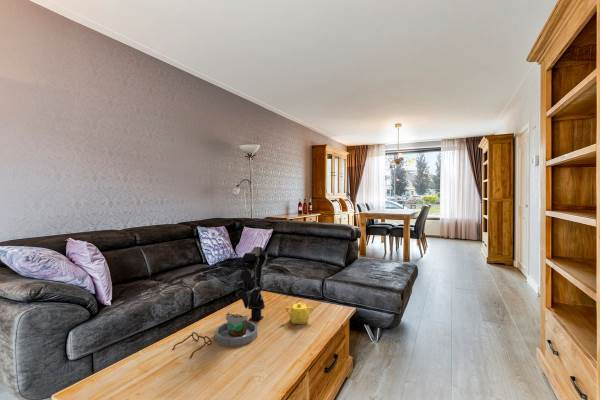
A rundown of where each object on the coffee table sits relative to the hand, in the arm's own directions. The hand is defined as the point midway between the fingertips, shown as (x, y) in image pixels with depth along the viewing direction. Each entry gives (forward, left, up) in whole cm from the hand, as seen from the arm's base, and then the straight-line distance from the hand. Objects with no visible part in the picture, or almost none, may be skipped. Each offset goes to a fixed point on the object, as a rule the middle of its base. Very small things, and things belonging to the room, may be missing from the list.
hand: (250, 305), depth 158 cm
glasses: (+27, -16, -14) cm, 35 cm away
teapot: (-18, +21, -13) cm, 31 cm away
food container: (+10, -3, -12) cm, 16 cm away
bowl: (+9, -3, -13) cm, 16 cm away
